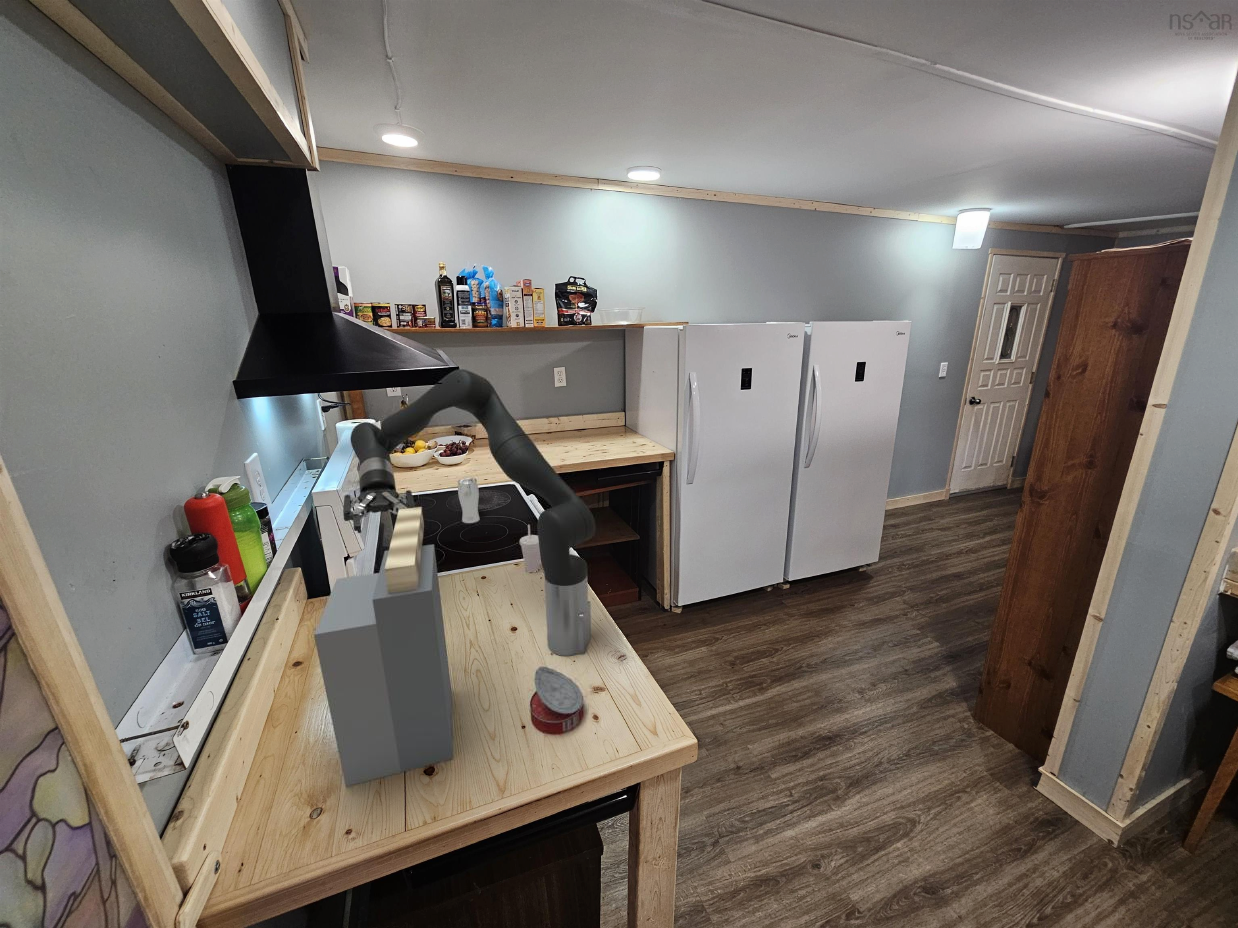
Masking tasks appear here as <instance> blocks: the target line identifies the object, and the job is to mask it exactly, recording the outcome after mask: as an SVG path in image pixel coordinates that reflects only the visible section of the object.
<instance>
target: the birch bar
mask: <svg viewBox="0 0 1238 928" xmlns="http://www.w3.org/2000/svg"><path fill="white" fill-rule="evenodd" d="M396 515H397V516H396V520H395V524H394V529H393V531H392V537H391V540H390V545H389V549H388V550H389V552H388V557H387V561H386V565H385V576H386V582H387V589H388V594H389V593H395V592H402V591H408V590H414V589H418V580H419V570H420V560H421V551H422V546H423V539H424V528H425V523H424V515H423V507H422V506H415V508H407V509H399V511H398V514H396Z"/></svg>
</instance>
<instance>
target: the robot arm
mask: <svg viewBox="0 0 1238 928" xmlns="http://www.w3.org/2000/svg"><path fill="white" fill-rule="evenodd" d="M458 381H459V382H458ZM437 383H442V384H437ZM437 383H435V384H434V385H433V386H432V387H430V388H429V389H428V390H427V391H426V392H424V393H423V394H422V395H421V396H420V397H419V398H418V399H416V400H414V401H413V402H411V403H410V404H408V405H407V406H405V407H404V408H401V409H399V410H398V411H396V412H394V413H392V414H390V415H389V416H387V417H385V418H384V419H383V420H382V422H381V425H380V426H381V428H380V427H378V426H377V425H375V424H374V423H372V422H368V421H365V422H360V423H358V424H356V426H354V427H353V429H352V430H351V434H350V445H351V448H352V449H353V452H354V454H355V455H356V458H357V459H358V461H359V462H358V463H359V472H358V483H359V495H358V496H355V497H351V496H352V495H350V494H345V495H344V496H343V510H342V512H343V520H344V522H348V521H352V525H353V531H354V532H357V534H362V524H361V523H362V521H361V520H362V519H363V518H366V517H367V516H368V515H370V514H371V513H373V514H375V513H379V512H380V513H387V512H391V513H393V514H394V515H398V511H399V509H407V508H416V503H415V501H414V500H415V499H414V496H413V492H412V490H411V489H408V490H406V491H405V492H404V493H398V491H397V486H396V478H395V473H394V469H393V466H392V459H391V454H392V453H393V452H394V451H395V450H396V449H397V448H398V447H399V446H400V444H402V443H403V442H404V441H406V440H408V439H410V438H412V437H413V436H416V435H417V434H419V433H420V432H423V431H424V430H425V429H426V428H427V427H428V425H430V423H431V421H432V419H433V417H434V416H435V415H436V414H437V413H439V412H441V411H443V410H446V409H450V408H456V409H459V410H462V411H466V412H467V413H470V414H471V415H473V416H474V418H476V419H477V421H478V422H479V423H480V424H481V426H482V427H483V428H484V430H485V432H486V433H487V439H488V447H489V451H490V454H491V455H492V457H493V459H494V460H495V462H496V464H497V465H498V466H499V468H500V469H501V470H502V472H503V473H504V475H506V477H508V478H509V479H510V480H512V481H513V482H514V483H516V484H518V485H520V486H522V487H524V488H526V489H528V490H529V491H531V492H534V493H535V494H537V495H539V496H540V497H542V498H543V499H544V500H545V501H546V502H547V503H548V504H549V505H550V506H551V507H550V508H548V509H545V510H543V511H542V512H540V514H539V516H538V519H537V524H536V525H537V528H536V529H537V536H538V540H539V549H540V562H541V566H542V568H543V569H542V570H543V575H544V594H545V595H544V596H545V612H546V613H545V615H546V617H545V618H546V634H547V635H546V636H547V637H546V638H547V647H548V650H550V651H551V652H552V653H553V654H556V655H559V656H564V657H567V656H574V655H578V654H582V655H583V654H586V651H587V648H588V646H589V643H590V641H591V638H592V614H591V613H592V612H591V610H592V609H591V607H592V604H591V600H590V601H589V600H588V599H589V598H588V597H589V596H588V595H589V593H588V590H589V589H588V588H589V587H588V564H587V562H586V560H585V559H584V558H582V557H581V556H579V555H576V554H572V553H571V552H570V549H571V548H574V547H575V546H578V545H580V544H582V543H585V542H587V541H588V540H590V539H592V538H593V536H594V535H595V533H596V529H597V528H596V521H595V518H594V516H593V514H592V511H591V510H590V509H589V507H588V506H587V504H586V503H585V502H584V501H583V500H582V499H581V498H580V497H579V495H578V494H576V493H575V491H574V490H573V489H572V488H571V487H570V486H569V485H568V484H567V482H565V481H564V480H563V479H562V478H561V476H560V475H559V474H558V473H557V472H556V470H555V469H554V468H553V467H552V465H551V464H550V463H549V462H548V461H547V459H546V458H545V457H544V455H543V454H542V453H541V451H540V449H538V447H537V446H536V444H535V443H534V441H533V440H532V439H531V438H530V436H529V435H528V434H527V433H526V431H525V430H523V428H522V427H521V426H520V424H519V423H518V422H517V420H516V419H515V418H514V417H513V416H512V414H511V413H509V411H508V409H507V408H506V406H505V405H504V403H503V401H502V399H501V398H500V396H499V395H498V393H497V391H496V389H495V388H494V386H493V384H492V383H491V382H490V381H489V380H488V379H487V378H485V377H483V376H481V375H479V374H477V373H475V372H472V371H470V370H468V369H464V368H459V369H455V370H454V371H451V372H450V373H448V374H447V375H445V376H444V377H443V378H442V379H440V380H439V381H438V382H437ZM400 500H402V502H403V503H404V504H406V505H404V504H403V503H401V501H400ZM356 504H358V507H357V508H355V509H353V508H354V506H356ZM352 509H353V511H352Z"/></svg>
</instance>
